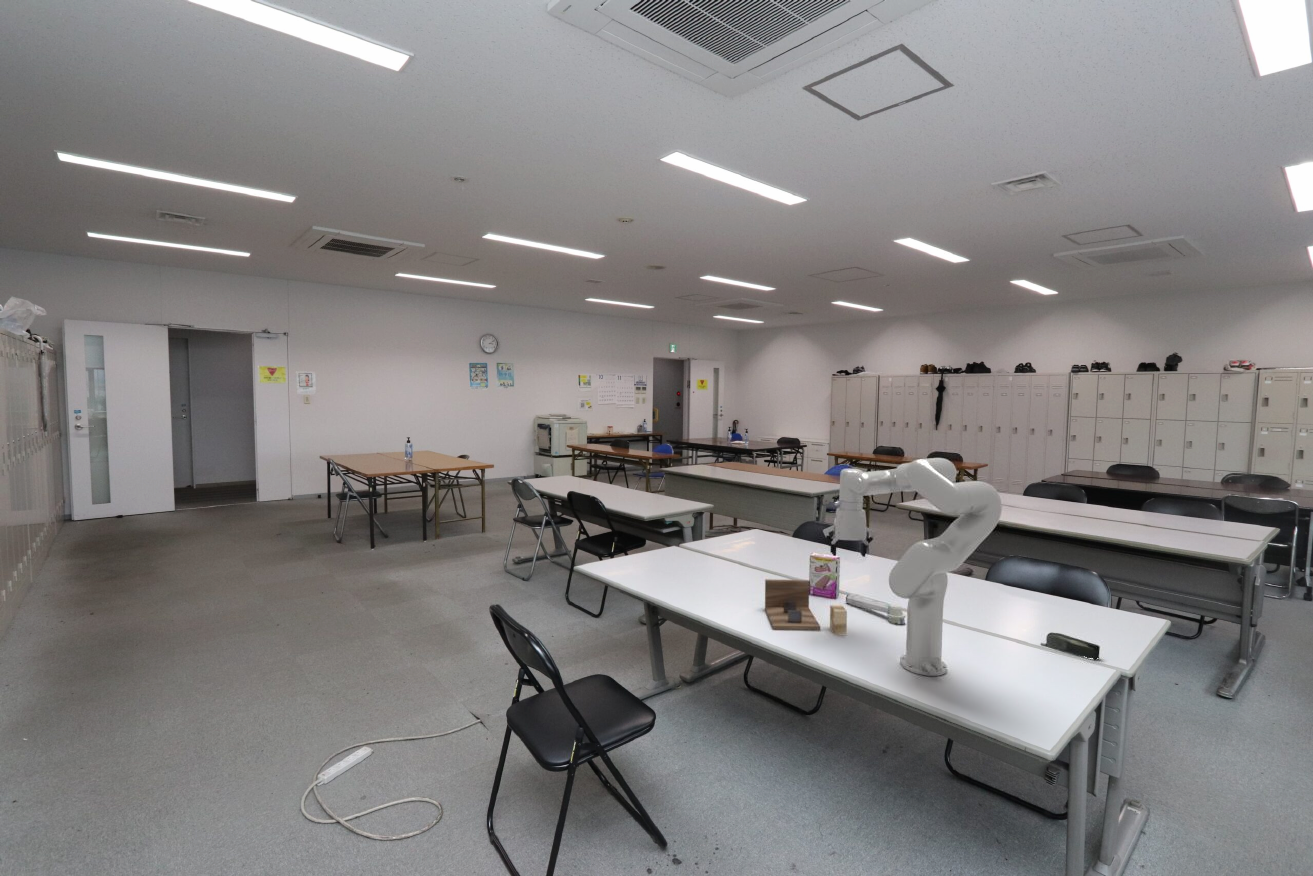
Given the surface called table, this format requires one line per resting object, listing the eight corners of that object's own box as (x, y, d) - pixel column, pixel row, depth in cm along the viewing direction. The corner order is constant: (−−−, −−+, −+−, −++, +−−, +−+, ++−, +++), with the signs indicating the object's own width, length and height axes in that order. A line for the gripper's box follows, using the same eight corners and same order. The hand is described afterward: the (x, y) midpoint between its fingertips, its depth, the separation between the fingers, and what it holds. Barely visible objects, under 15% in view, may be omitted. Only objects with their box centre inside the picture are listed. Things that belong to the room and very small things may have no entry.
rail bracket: (846, 634, 196) (846, 611, 195) (834, 634, 196) (834, 611, 195) (841, 627, 202) (841, 605, 201) (829, 627, 202) (830, 604, 201)
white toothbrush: (853, 592, 227) (907, 603, 205) (855, 609, 227) (909, 622, 205) (843, 594, 225) (897, 605, 203) (845, 612, 224) (899, 625, 202)
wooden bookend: (820, 630, 199) (820, 597, 198) (773, 629, 200) (773, 597, 199) (807, 610, 218) (808, 579, 218) (764, 609, 219) (765, 579, 218)
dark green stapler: (1100, 644, 177) (1043, 628, 188) (1098, 646, 175) (1040, 630, 186) (1099, 660, 177) (1042, 643, 188) (1096, 662, 175) (1039, 645, 186)
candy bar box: (808, 595, 235) (809, 555, 234) (811, 591, 239) (812, 552, 238) (836, 599, 229) (837, 558, 228) (839, 596, 234) (840, 556, 233)
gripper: (826, 507, 192) (824, 557, 194) (880, 508, 191) (877, 559, 193) (822, 502, 200) (820, 551, 201) (873, 504, 199) (871, 553, 200)
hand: (848, 555), depth 197 cm, fingers open, 9 cm apart
